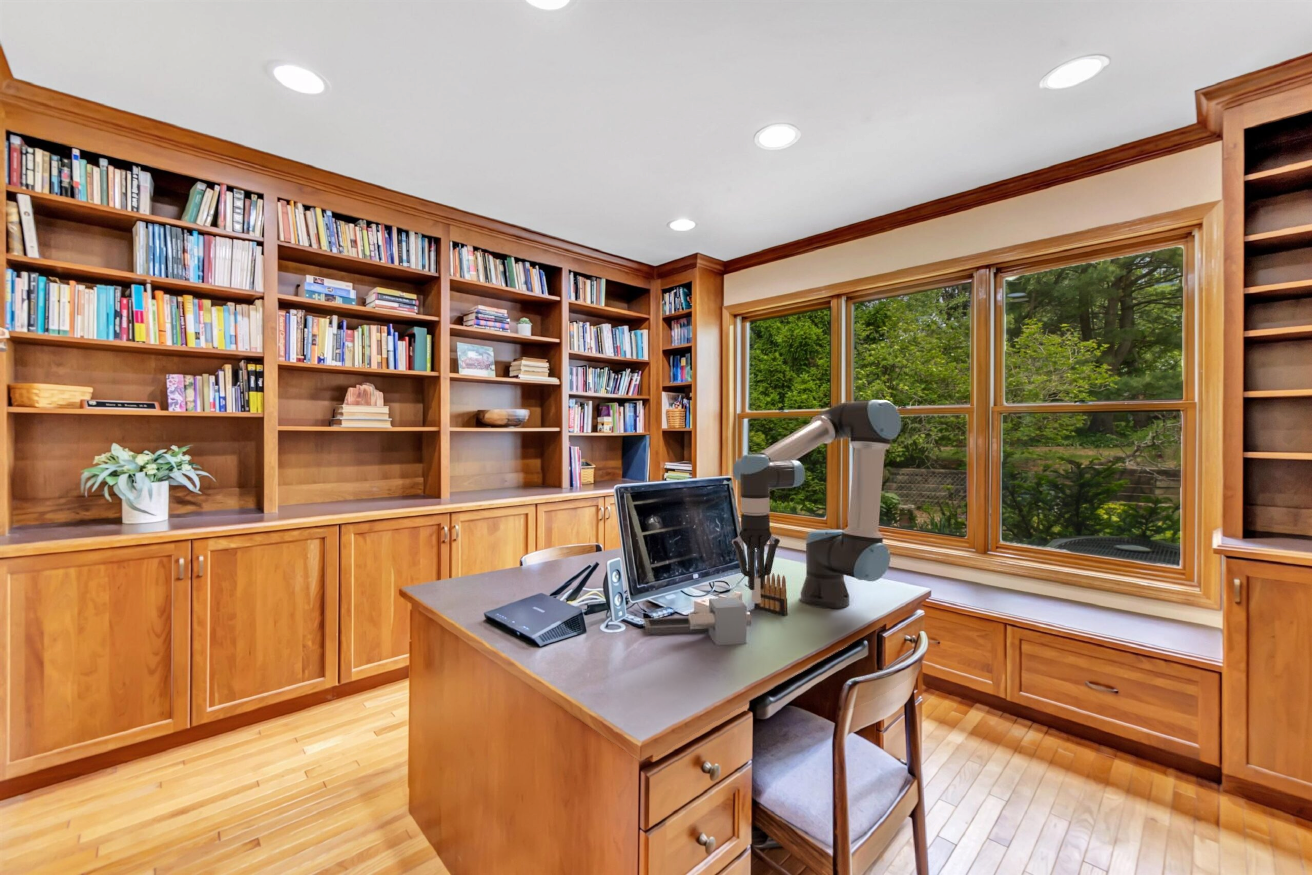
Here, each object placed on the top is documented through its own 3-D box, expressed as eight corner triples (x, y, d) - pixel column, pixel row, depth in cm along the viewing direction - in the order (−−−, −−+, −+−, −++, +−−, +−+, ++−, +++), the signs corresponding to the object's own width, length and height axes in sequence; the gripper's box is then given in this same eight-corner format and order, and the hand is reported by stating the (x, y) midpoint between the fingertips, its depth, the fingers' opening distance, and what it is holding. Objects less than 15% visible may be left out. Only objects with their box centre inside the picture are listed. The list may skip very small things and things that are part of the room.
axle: (746, 624, 148) (746, 609, 148) (751, 628, 144) (751, 613, 144) (688, 626, 145) (688, 612, 146) (691, 630, 142) (691, 615, 142)
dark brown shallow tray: (717, 622, 157) (717, 615, 157) (724, 631, 150) (724, 624, 150) (644, 625, 154) (644, 618, 154) (647, 634, 147) (647, 627, 147)
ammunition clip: (753, 608, 170) (754, 569, 170) (757, 607, 172) (757, 568, 172) (784, 616, 163) (785, 576, 163) (787, 615, 164) (788, 575, 164)
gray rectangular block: (737, 632, 149) (737, 597, 149) (746, 643, 141) (746, 606, 141) (708, 633, 148) (709, 598, 148) (716, 644, 140) (716, 607, 140)
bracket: (741, 618, 161) (742, 592, 161) (724, 623, 157) (725, 597, 157) (710, 607, 172) (711, 583, 172) (694, 612, 167) (694, 587, 167)
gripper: (773, 509, 150) (774, 595, 151) (727, 511, 149) (728, 598, 149) (783, 514, 143) (785, 604, 143) (735, 516, 141) (736, 607, 142)
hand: (756, 601), depth 146 cm, fingers closed
